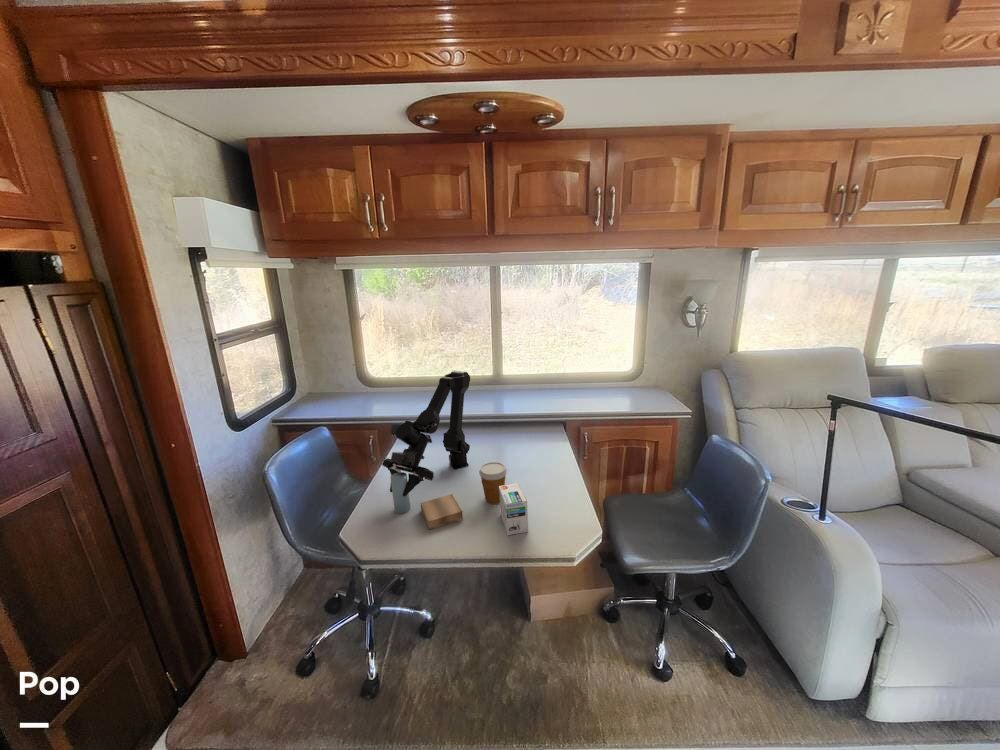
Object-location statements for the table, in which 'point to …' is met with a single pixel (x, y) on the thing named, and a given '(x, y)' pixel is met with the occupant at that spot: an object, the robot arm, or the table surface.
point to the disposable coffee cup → (492, 480)
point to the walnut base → (441, 511)
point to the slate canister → (400, 493)
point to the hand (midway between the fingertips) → (397, 494)
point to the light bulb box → (513, 509)
